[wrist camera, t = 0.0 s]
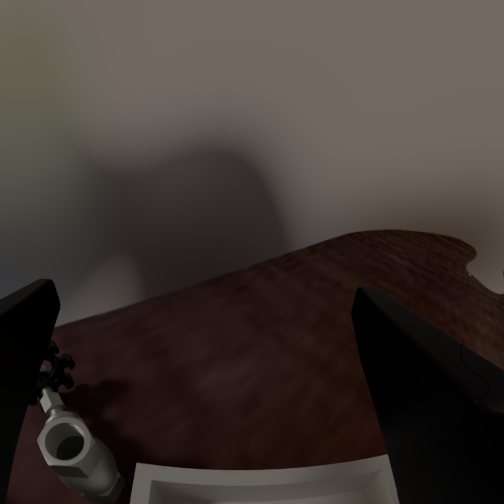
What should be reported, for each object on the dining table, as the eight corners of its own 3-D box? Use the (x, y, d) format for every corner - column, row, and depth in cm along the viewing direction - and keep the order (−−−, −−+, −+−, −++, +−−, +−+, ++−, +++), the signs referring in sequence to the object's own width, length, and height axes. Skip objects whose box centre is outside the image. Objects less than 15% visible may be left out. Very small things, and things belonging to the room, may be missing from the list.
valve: (154, 483, 17) (82, 380, 24) (129, 442, 14) (58, 325, 21) (80, 523, 12) (24, 408, 20) (32, 490, 9) (-10, 355, 17)
